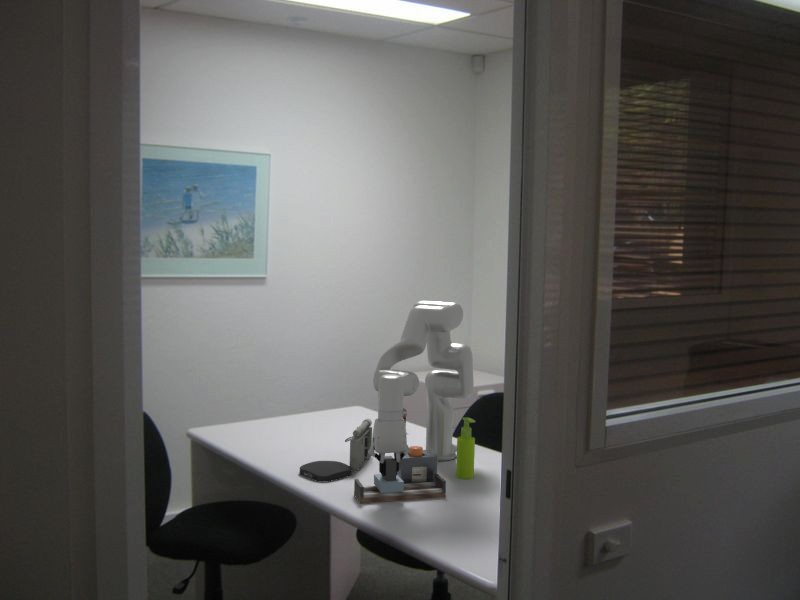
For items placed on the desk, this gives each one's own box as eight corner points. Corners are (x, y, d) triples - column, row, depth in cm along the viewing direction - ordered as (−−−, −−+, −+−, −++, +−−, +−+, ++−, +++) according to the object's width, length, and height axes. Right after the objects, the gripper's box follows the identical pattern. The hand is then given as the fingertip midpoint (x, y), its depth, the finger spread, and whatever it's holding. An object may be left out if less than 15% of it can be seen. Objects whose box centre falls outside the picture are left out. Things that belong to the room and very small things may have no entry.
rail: (437, 488, 256) (437, 473, 255) (445, 497, 248) (445, 481, 248) (354, 494, 248) (354, 479, 248) (360, 503, 241) (360, 487, 240)
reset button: (420, 458, 262) (420, 445, 262) (424, 462, 258) (424, 449, 258) (407, 459, 261) (407, 446, 261) (411, 462, 257) (411, 450, 256)
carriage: (395, 482, 252) (396, 454, 252) (403, 491, 244) (404, 462, 243) (373, 483, 250) (374, 455, 250) (381, 493, 242) (381, 463, 241)
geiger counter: (361, 431, 271) (378, 415, 295) (343, 430, 272) (361, 413, 296) (360, 472, 272) (377, 452, 296) (342, 470, 273) (360, 451, 298)
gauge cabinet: (428, 479, 266) (429, 449, 265) (437, 487, 257) (437, 456, 257) (393, 481, 262) (394, 451, 261) (401, 489, 254) (401, 458, 253)
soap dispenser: (463, 480, 265) (465, 421, 263) (452, 475, 271) (454, 416, 269) (478, 478, 268) (480, 419, 266) (467, 472, 274) (469, 415, 272)
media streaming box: (356, 475, 269) (356, 466, 269) (322, 484, 259) (322, 475, 259) (328, 465, 279) (328, 457, 279) (294, 473, 269) (294, 465, 269)
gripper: (412, 411, 251) (410, 469, 253) (361, 413, 246) (360, 472, 248) (419, 417, 244) (418, 476, 245) (366, 419, 239) (365, 479, 241)
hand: (388, 473), depth 247 cm, fingers closed on carriage, 3 cm apart
